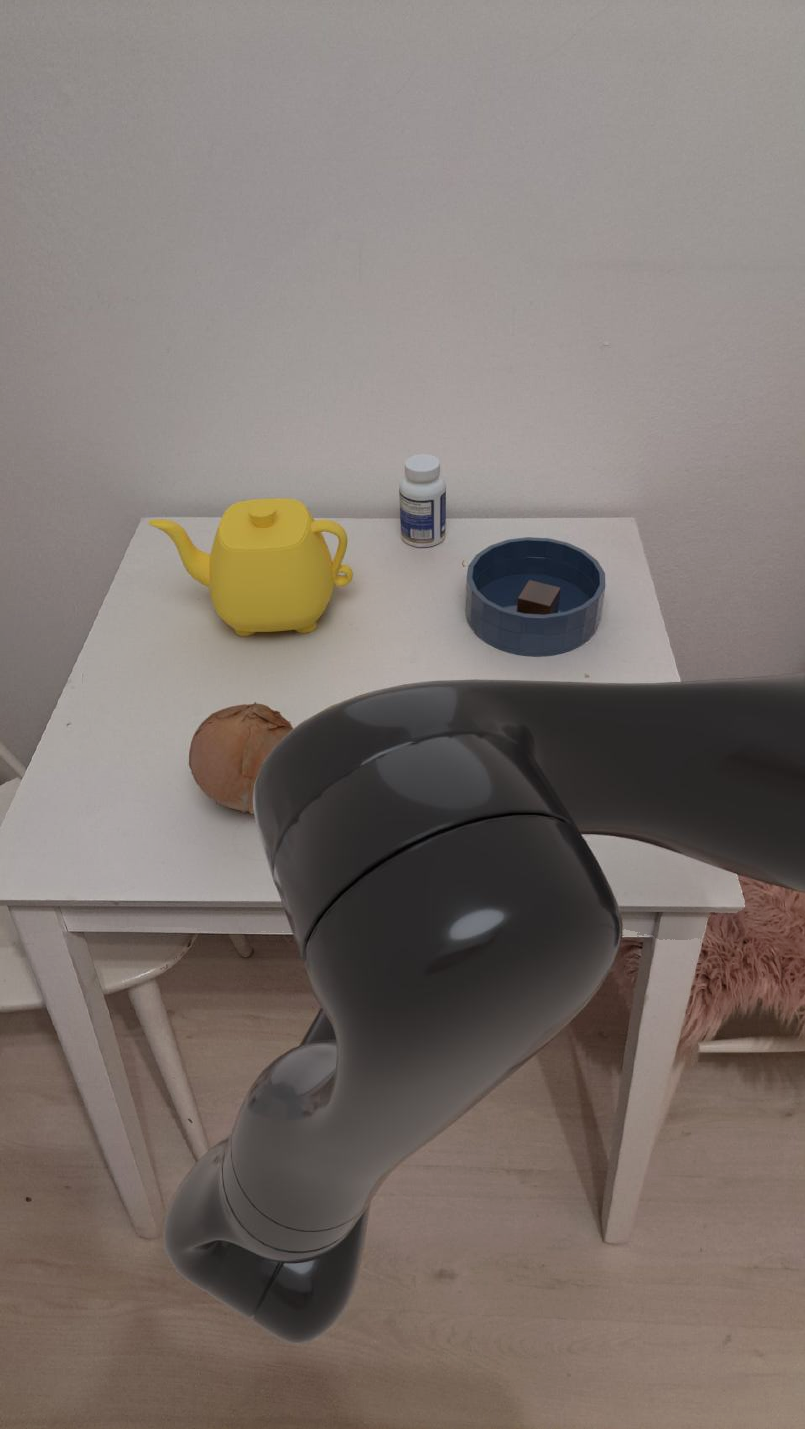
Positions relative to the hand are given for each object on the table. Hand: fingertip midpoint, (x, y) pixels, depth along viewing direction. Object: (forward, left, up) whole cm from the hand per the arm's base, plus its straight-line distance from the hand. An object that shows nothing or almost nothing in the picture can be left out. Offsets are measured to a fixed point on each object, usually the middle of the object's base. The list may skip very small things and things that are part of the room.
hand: (491, 805), depth 70 cm
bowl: (+8, -33, -8) cm, 35 cm away
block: (+7, -32, -7) cm, 33 cm away
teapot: (+35, -22, -8) cm, 42 cm away
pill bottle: (+25, -42, -8) cm, 50 cm away
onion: (+22, +1, -8) cm, 23 cm away
